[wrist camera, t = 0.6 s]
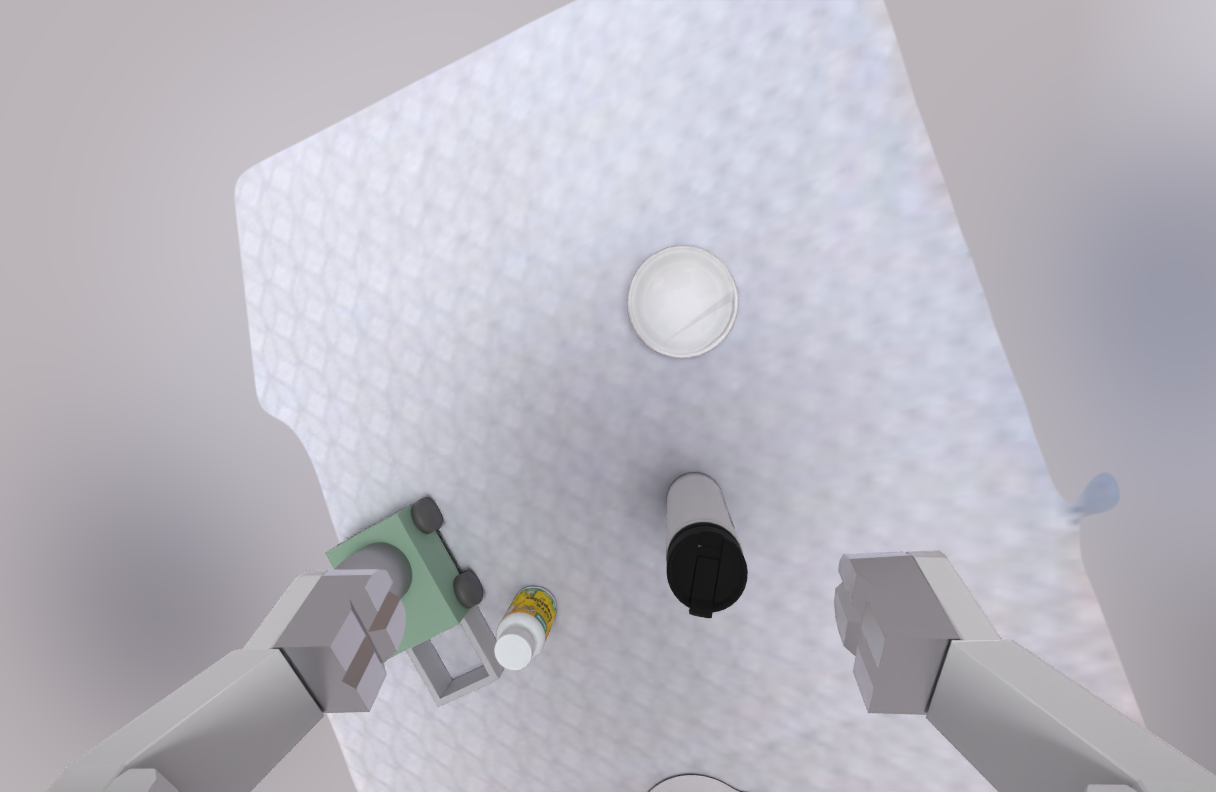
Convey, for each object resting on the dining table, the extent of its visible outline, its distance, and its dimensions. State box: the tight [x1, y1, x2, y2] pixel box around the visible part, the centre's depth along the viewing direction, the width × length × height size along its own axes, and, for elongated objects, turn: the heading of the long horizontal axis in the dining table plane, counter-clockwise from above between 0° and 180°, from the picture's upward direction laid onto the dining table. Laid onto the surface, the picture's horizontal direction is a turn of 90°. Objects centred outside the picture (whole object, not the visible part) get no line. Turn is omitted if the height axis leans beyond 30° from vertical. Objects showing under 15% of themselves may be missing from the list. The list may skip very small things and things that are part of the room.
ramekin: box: [628, 245, 738, 358], centre depth 55 cm, size 11×11×5 cm
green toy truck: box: [326, 498, 504, 707], centre depth 59 cm, size 23×12×10 cm, turn 29°
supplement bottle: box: [494, 587, 557, 670], centre depth 58 cm, size 5×5×10 cm
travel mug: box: [666, 472, 748, 618], centre depth 49 cm, size 6×7×20 cm
